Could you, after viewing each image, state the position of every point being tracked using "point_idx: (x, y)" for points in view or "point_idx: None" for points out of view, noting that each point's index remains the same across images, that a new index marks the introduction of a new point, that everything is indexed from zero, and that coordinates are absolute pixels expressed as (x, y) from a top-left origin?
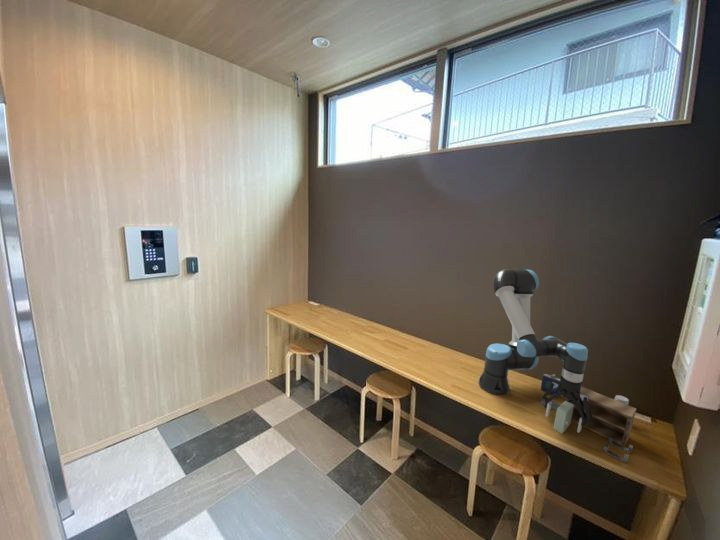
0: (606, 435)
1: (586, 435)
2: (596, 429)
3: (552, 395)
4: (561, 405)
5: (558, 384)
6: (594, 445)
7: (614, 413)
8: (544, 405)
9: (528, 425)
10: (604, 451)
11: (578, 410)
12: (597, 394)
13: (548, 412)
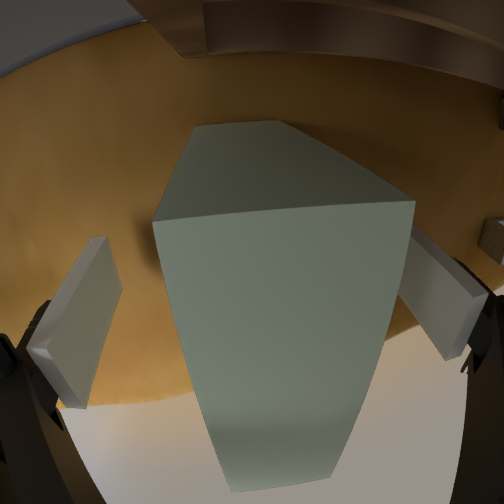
0: (498, 81)
1: (409, 169)
2: (452, 50)
3: (16, 473)
4: (225, 442)
5: None
6: (449, 236)
7: None
8: (4, 73)
9: (129, 395)
10: (483, 248)
11: (467, 440)
12: None
13: (107, 294)
